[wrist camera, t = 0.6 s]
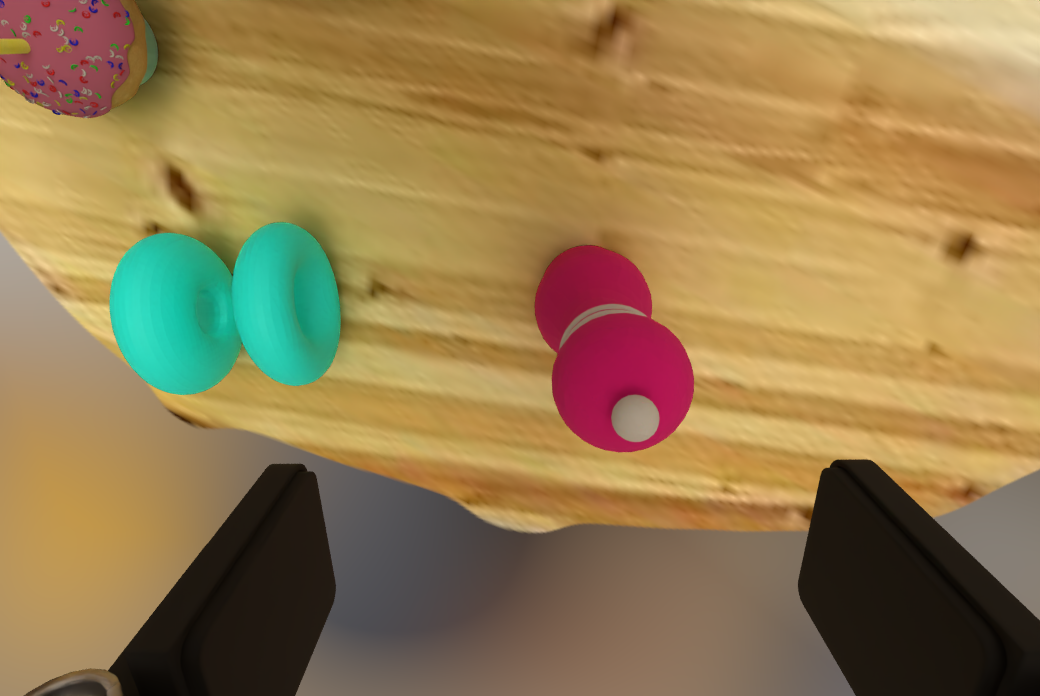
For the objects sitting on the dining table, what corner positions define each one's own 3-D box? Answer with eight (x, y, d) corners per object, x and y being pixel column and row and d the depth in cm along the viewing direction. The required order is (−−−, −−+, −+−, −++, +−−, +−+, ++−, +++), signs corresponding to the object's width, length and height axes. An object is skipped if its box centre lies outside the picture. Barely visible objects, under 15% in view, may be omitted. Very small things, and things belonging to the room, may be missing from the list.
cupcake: (191, 129, 35) (34, 125, 24) (55, 107, 35) (-169, 91, 24) (184, -26, 32) (1, -115, 21) (34, -53, 32) (-232, -157, 21)
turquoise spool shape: (182, 224, 37) (68, 252, 28) (327, 210, 37) (259, 234, 28) (224, 360, 41) (134, 425, 32) (356, 349, 41) (305, 412, 31)
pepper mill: (518, 315, 39) (509, 475, 21) (559, 220, 37) (591, 303, 18) (609, 352, 40) (680, 536, 22) (655, 261, 38) (780, 381, 19)
